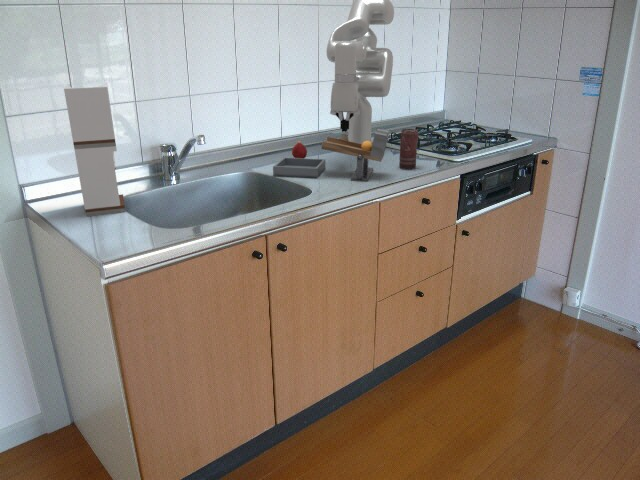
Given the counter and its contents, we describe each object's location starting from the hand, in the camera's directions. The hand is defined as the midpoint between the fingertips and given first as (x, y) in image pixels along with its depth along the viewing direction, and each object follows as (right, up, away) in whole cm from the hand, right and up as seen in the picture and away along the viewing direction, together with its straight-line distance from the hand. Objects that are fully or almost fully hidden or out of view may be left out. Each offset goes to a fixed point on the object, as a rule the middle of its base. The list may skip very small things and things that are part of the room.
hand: (344, 131), depth 201 cm
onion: (-17, -9, +13) cm, 24 cm away
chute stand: (+6, -17, -7) cm, 19 cm away
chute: (+3, -8, -5) cm, 10 cm away
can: (+24, -13, +3) cm, 27 cm away
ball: (+7, -8, -11) cm, 15 cm away
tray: (-16, -15, -2) cm, 22 cm away
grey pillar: (-72, -31, -39) cm, 88 cm away
